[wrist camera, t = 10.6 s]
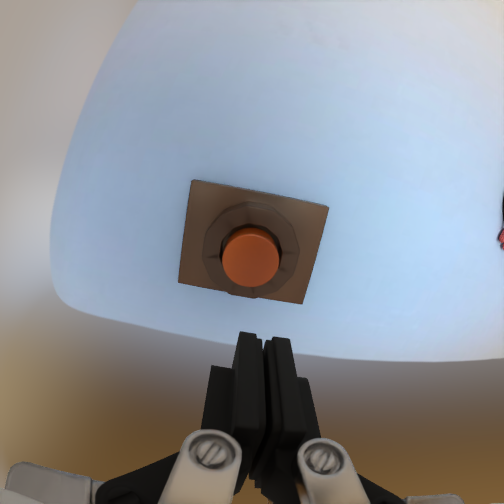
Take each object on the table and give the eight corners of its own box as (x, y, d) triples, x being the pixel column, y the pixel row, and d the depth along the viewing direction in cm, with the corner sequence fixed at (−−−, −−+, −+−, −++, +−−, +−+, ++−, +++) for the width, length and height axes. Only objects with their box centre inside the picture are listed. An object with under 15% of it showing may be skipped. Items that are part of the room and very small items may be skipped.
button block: (179, 279, 23) (172, 293, 21) (193, 179, 21) (186, 182, 18) (301, 300, 24) (306, 316, 22) (326, 205, 21) (336, 212, 19)
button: (220, 271, 21) (218, 282, 19) (229, 222, 20) (227, 229, 18) (270, 280, 21) (272, 291, 19) (282, 232, 20) (285, 240, 18)
